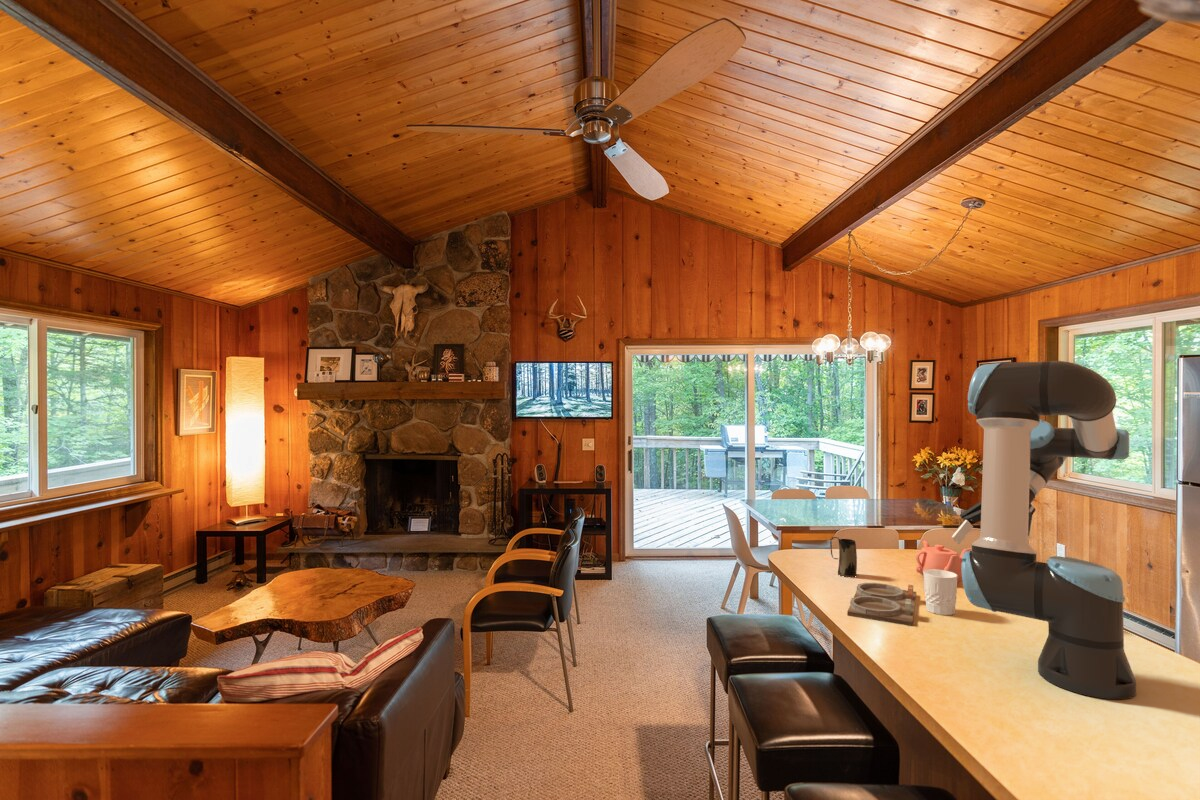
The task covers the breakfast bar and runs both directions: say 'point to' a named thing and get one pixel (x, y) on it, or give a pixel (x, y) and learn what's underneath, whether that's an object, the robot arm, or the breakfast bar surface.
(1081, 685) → the robot arm
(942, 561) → the teapot
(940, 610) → the white cup
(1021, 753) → the breakfast bar surface
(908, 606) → the board
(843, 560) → the mug
